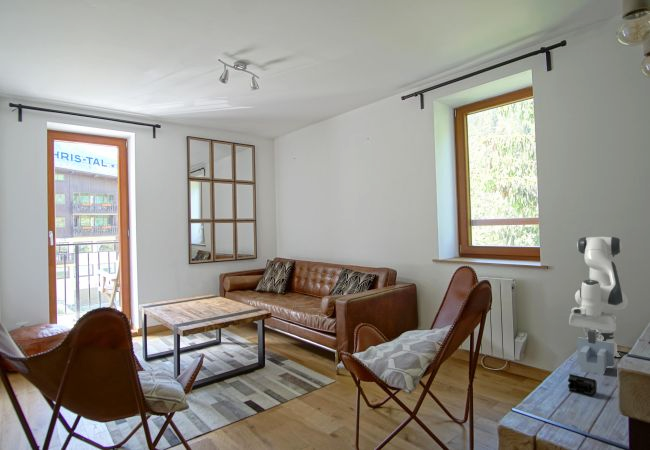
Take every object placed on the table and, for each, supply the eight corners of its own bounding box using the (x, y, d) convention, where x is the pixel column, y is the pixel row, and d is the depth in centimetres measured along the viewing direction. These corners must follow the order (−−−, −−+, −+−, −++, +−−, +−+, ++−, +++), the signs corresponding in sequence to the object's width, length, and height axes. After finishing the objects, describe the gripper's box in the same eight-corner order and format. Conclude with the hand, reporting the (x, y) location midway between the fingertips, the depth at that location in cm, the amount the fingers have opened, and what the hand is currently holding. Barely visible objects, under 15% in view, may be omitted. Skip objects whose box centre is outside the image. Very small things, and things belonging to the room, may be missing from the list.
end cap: (597, 393, 164) (596, 378, 164) (593, 398, 159) (593, 382, 159) (571, 386, 171) (570, 372, 172) (567, 391, 166) (566, 376, 167)
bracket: (589, 340, 196) (589, 328, 196) (596, 341, 194) (596, 329, 194) (588, 342, 191) (587, 331, 192) (595, 343, 189) (594, 332, 190)
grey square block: (578, 361, 207) (578, 337, 207) (614, 368, 196) (613, 342, 196) (573, 369, 195) (573, 342, 195) (611, 376, 184) (610, 349, 184)
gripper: (617, 312, 188) (617, 339, 188) (570, 307, 202) (570, 332, 202) (615, 314, 184) (616, 342, 183) (568, 309, 197) (568, 334, 197)
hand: (592, 336), depth 193 cm, fingers closed on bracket, 3 cm apart
